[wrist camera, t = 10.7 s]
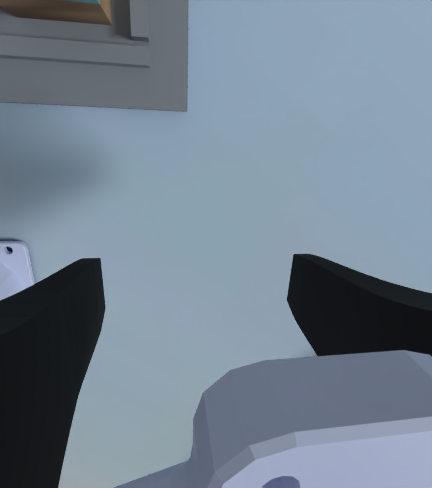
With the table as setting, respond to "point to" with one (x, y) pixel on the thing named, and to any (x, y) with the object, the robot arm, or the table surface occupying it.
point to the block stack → (61, 10)
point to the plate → (99, 58)
